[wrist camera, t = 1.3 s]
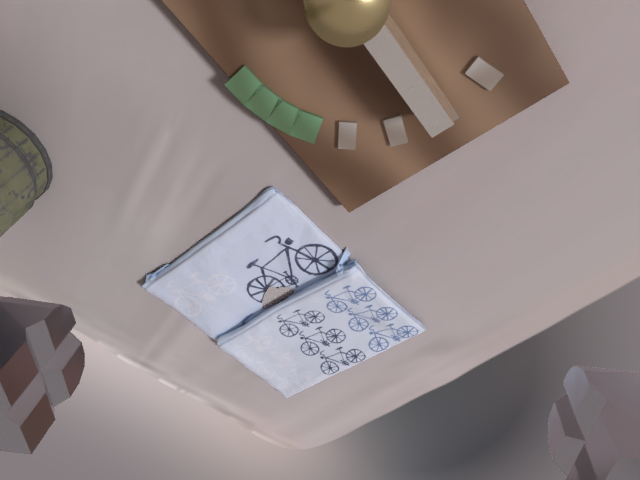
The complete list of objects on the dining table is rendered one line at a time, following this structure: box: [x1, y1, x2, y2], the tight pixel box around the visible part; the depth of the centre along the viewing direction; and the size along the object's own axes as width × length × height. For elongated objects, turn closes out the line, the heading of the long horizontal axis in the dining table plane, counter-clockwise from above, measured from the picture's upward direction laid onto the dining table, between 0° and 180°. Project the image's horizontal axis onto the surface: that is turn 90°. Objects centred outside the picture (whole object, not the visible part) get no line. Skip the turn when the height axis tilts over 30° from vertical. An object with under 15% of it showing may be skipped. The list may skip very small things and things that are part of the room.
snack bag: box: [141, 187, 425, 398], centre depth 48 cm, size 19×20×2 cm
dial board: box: [162, 0, 569, 212], centre depth 31 cm, size 18×25×2 cm
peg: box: [303, 0, 454, 138], centre depth 29 cm, size 11×4×5 cm, turn 40°
